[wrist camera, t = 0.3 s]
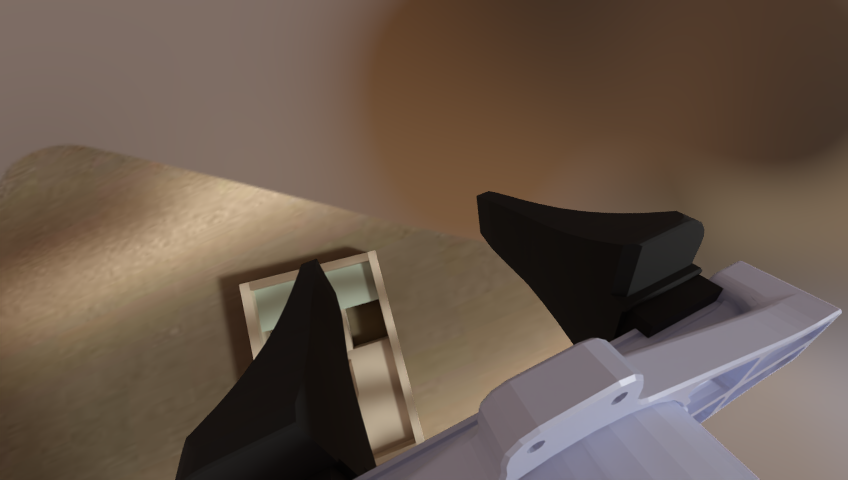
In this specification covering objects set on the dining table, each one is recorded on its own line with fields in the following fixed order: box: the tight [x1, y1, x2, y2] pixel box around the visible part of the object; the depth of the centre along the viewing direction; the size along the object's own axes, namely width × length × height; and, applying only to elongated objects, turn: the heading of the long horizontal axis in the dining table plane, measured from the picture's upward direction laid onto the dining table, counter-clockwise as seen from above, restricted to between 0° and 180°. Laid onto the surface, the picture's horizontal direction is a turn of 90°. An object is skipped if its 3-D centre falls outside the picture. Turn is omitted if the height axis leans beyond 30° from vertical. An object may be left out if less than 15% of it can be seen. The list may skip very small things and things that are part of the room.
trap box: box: [239, 251, 425, 466], centre depth 37 cm, size 24×16×4 cm, turn 16°
